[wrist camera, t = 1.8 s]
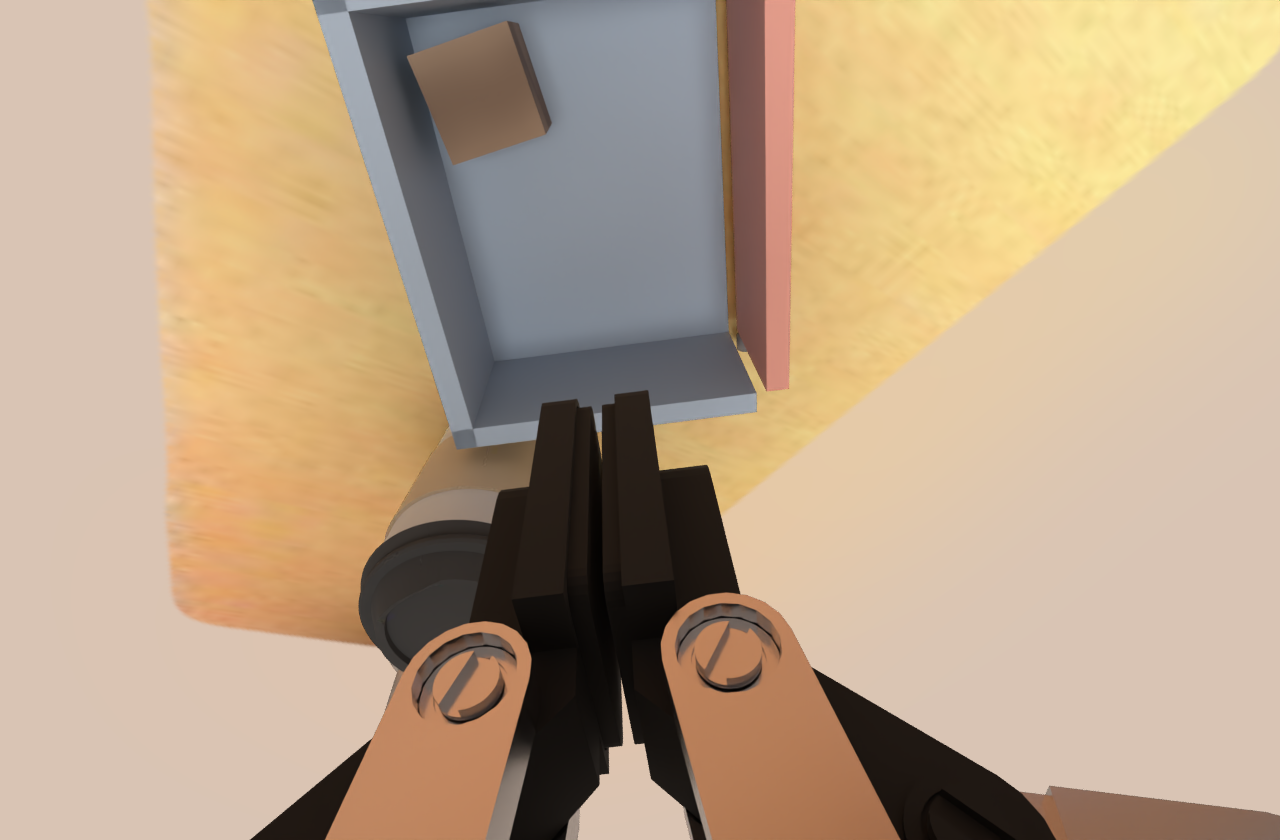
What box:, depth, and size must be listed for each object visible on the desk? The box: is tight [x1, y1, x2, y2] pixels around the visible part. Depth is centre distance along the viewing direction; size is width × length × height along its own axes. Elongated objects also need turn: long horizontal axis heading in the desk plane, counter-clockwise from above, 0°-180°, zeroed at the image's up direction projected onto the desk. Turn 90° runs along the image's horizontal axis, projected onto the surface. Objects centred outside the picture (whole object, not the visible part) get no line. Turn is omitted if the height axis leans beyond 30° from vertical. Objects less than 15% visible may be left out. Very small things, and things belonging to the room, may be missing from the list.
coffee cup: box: [359, 426, 536, 672], centre depth 32 cm, size 9×9×15 cm
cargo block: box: [407, 21, 552, 165], centre depth 26 cm, size 4×4×4 cm
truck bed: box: [312, 0, 757, 450], centre depth 28 cm, size 18×15×8 cm
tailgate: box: [726, 0, 795, 391], centre depth 27 cm, size 16×1×7 cm, turn 6°
